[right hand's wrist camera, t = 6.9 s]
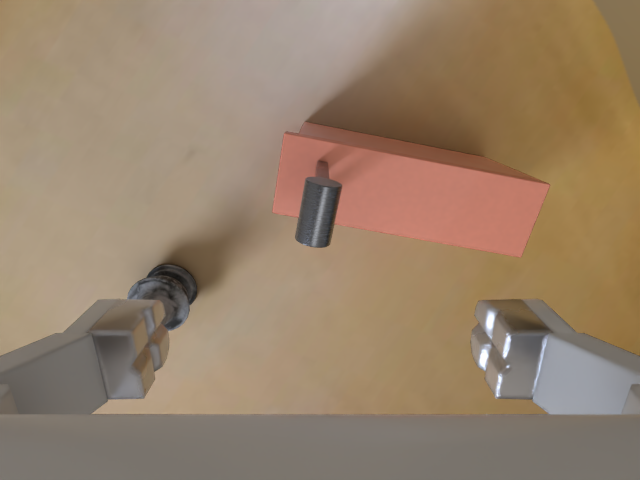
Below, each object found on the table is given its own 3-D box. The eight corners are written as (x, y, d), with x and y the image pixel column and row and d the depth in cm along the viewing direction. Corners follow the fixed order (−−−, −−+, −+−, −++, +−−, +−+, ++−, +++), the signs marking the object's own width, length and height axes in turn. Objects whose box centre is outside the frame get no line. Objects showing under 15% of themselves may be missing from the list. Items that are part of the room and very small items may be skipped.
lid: (273, 208, 28) (254, 258, 19) (285, 131, 26) (269, 150, 18) (514, 251, 29) (590, 316, 21) (542, 180, 27) (638, 220, 19)
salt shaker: (153, 252, 40) (87, 317, 28) (208, 276, 41) (165, 349, 29) (135, 298, 41) (66, 376, 30) (188, 320, 42) (140, 404, 31)
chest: (294, 179, 37) (285, 210, 28) (304, 121, 35) (298, 133, 26) (466, 211, 38) (513, 251, 29) (484, 156, 36) (541, 180, 27)
